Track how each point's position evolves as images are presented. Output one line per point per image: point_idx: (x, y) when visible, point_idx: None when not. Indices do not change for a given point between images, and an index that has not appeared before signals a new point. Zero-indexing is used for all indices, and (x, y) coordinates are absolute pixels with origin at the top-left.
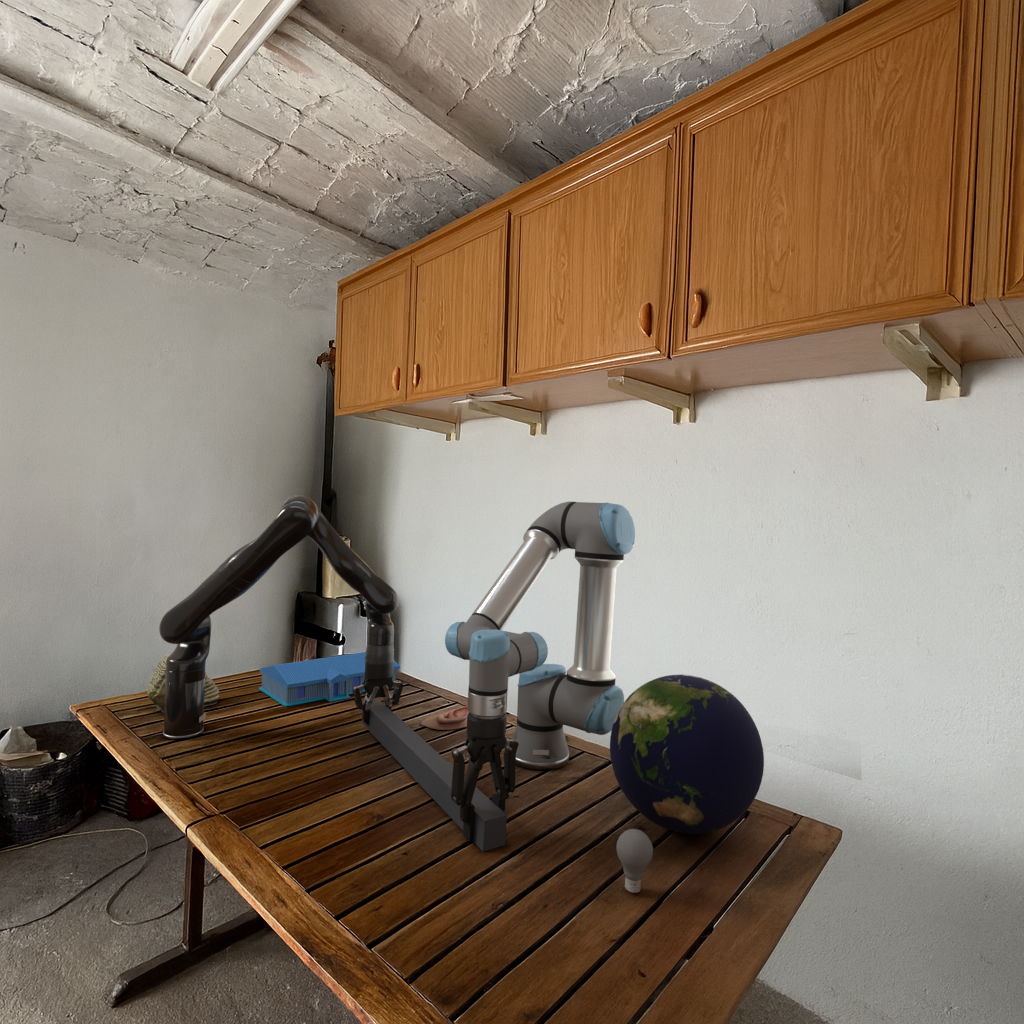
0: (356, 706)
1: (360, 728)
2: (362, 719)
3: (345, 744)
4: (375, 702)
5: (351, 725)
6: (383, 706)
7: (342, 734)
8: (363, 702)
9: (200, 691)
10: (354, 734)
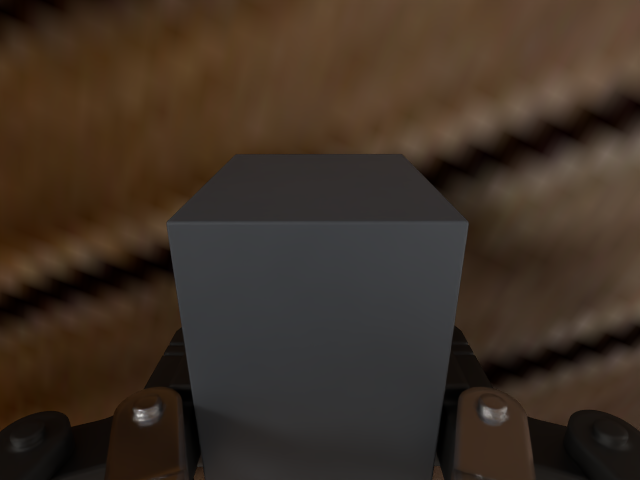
0: (21, 423)
1: (233, 149)
2: (178, 333)
3: (77, 382)
4: (359, 298)
5: (173, 38)
6: (396, 462)
7: (72, 216)
8: (175, 230)
9: None
10: (161, 252)
